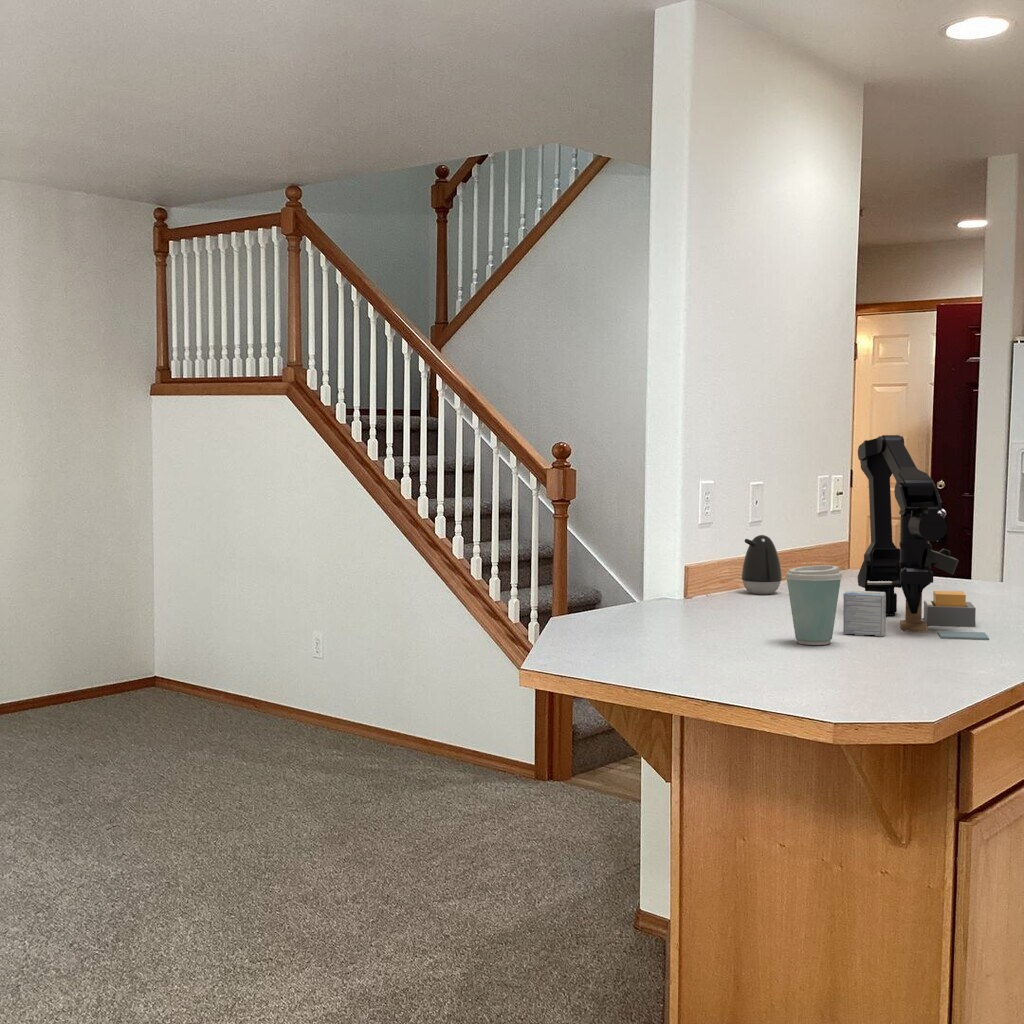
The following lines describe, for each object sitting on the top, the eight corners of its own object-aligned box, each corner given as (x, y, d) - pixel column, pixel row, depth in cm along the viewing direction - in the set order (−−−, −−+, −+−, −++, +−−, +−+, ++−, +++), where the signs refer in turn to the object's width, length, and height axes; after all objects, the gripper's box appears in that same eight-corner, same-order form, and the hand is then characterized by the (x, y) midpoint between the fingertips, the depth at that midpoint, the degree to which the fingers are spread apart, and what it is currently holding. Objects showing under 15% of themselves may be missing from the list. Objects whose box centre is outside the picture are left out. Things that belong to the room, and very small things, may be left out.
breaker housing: (927, 625, 249) (927, 605, 249) (923, 618, 258) (923, 599, 258) (975, 626, 247) (975, 607, 246) (969, 620, 256) (970, 601, 256)
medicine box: (886, 634, 238) (886, 591, 238) (883, 637, 234) (883, 594, 234) (846, 631, 242) (846, 590, 241) (842, 634, 238) (843, 592, 237)
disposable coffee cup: (802, 648, 221) (802, 570, 221) (774, 639, 232) (775, 564, 231) (851, 646, 224) (852, 568, 223) (822, 637, 235) (823, 562, 234)
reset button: (935, 609, 250) (935, 594, 250) (933, 606, 256) (933, 590, 256) (965, 610, 249) (965, 595, 248) (962, 607, 254) (962, 591, 254)
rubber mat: (940, 638, 233) (940, 636, 233) (937, 632, 239) (937, 630, 239) (989, 640, 230) (989, 637, 230) (984, 634, 237) (984, 632, 237)
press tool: (901, 630, 242) (901, 590, 242) (899, 627, 247) (900, 587, 246) (926, 631, 241) (927, 590, 240) (925, 627, 246) (925, 587, 245)
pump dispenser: (732, 592, 305) (733, 534, 304) (765, 590, 310) (765, 532, 309) (756, 596, 296) (757, 537, 295) (789, 594, 300) (790, 535, 300)
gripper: (960, 542, 232) (959, 620, 233) (951, 535, 250) (950, 607, 251) (901, 541, 235) (900, 618, 236) (896, 534, 253) (895, 606, 253)
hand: (913, 612), depth 244 cm, fingers closed on press tool, 3 cm apart
